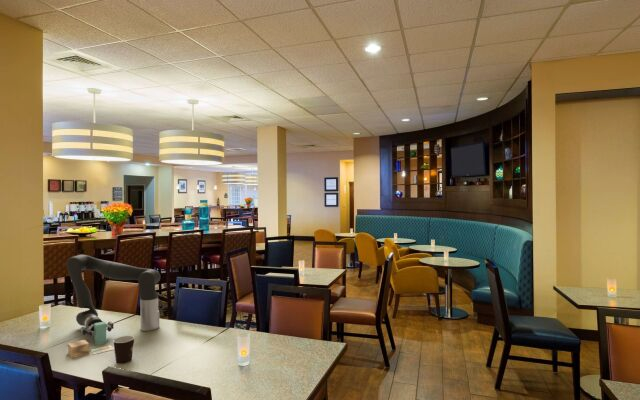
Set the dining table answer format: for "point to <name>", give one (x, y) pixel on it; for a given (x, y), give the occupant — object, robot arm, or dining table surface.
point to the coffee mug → (123, 349)
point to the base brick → (78, 348)
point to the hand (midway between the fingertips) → (100, 331)
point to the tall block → (99, 333)
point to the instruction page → (102, 349)
